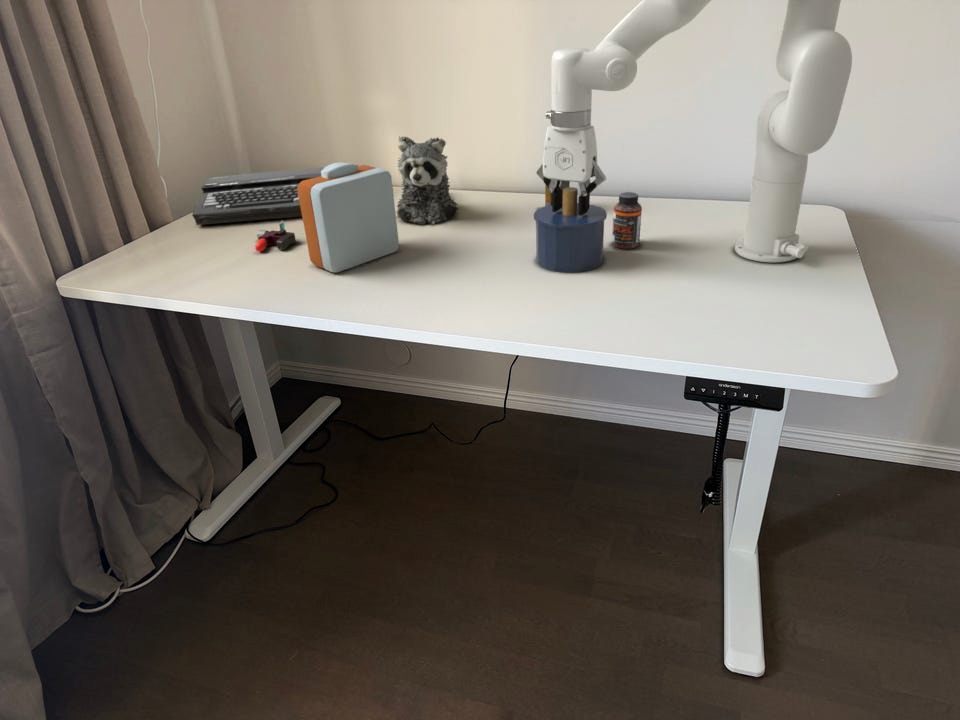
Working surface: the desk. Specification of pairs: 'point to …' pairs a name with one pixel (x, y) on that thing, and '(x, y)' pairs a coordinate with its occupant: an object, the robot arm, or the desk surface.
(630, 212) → the supplement bottle
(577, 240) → the tin
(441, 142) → the raccoon plush
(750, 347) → the desk surface
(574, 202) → the tin lid
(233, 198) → the vintage computer
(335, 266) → the alarm clock
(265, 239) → the toy gun
